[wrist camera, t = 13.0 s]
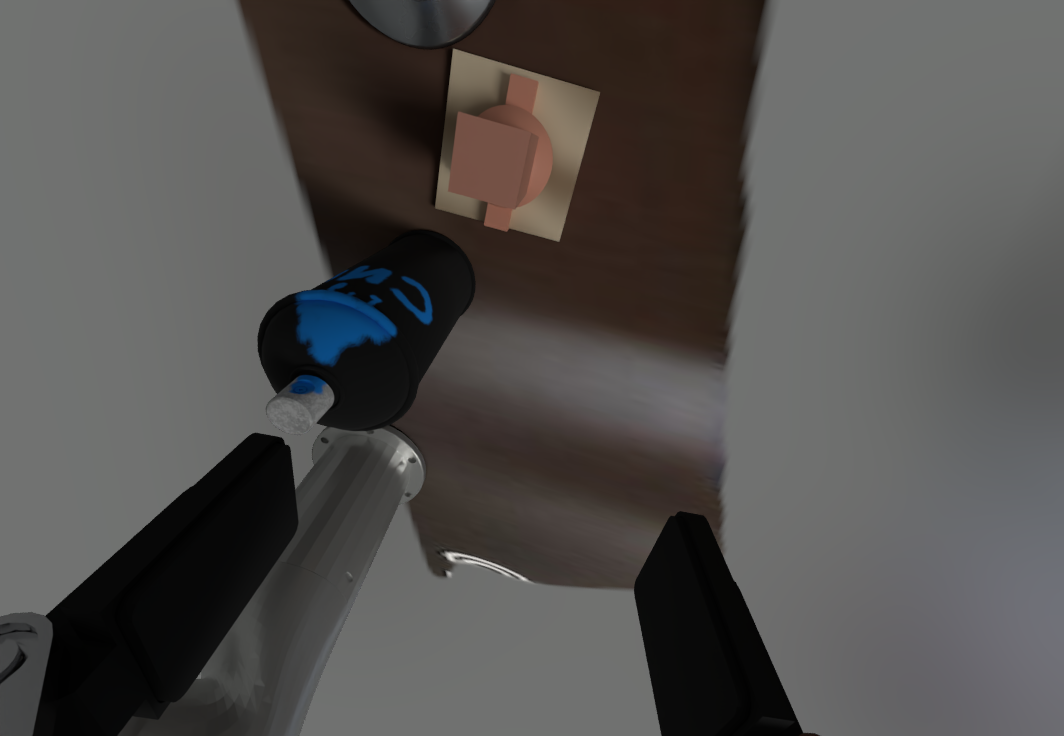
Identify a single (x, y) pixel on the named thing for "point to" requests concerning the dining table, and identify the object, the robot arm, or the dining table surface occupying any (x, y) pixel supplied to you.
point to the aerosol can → (364, 336)
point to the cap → (502, 154)
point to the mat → (555, 108)
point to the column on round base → (425, 19)
